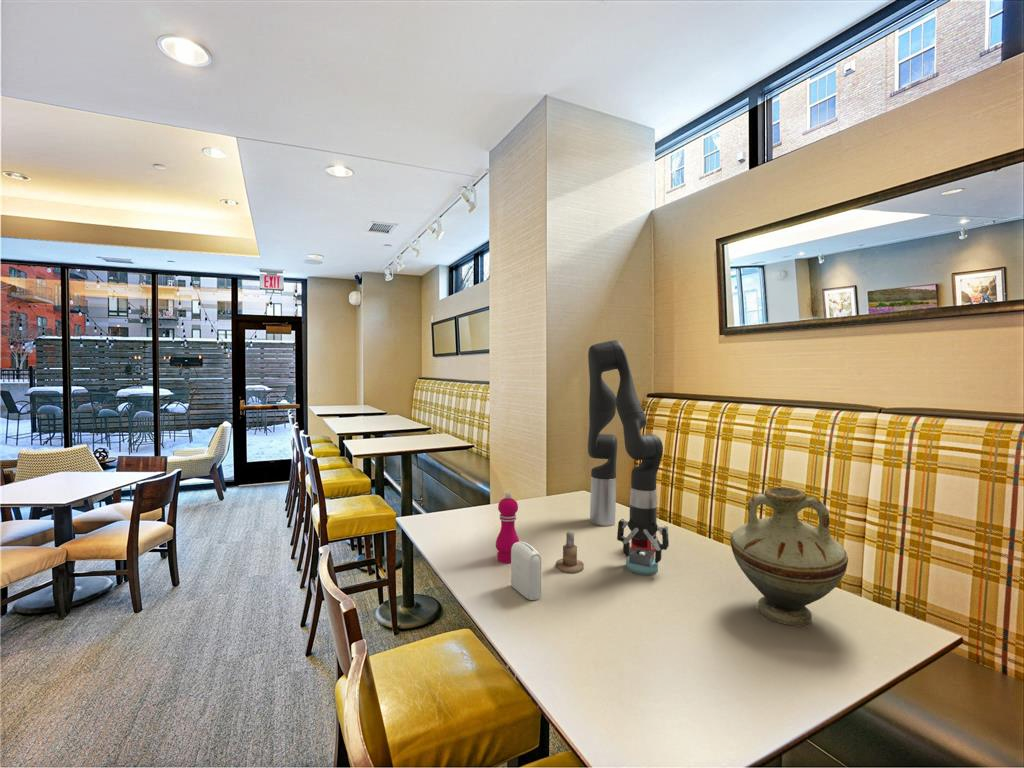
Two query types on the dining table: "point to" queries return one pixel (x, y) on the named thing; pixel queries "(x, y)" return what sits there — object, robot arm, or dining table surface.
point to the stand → (569, 557)
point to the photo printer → (526, 570)
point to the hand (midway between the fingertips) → (642, 559)
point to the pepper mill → (506, 528)
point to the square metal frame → (641, 557)
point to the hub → (642, 567)
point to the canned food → (642, 544)
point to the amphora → (788, 555)
